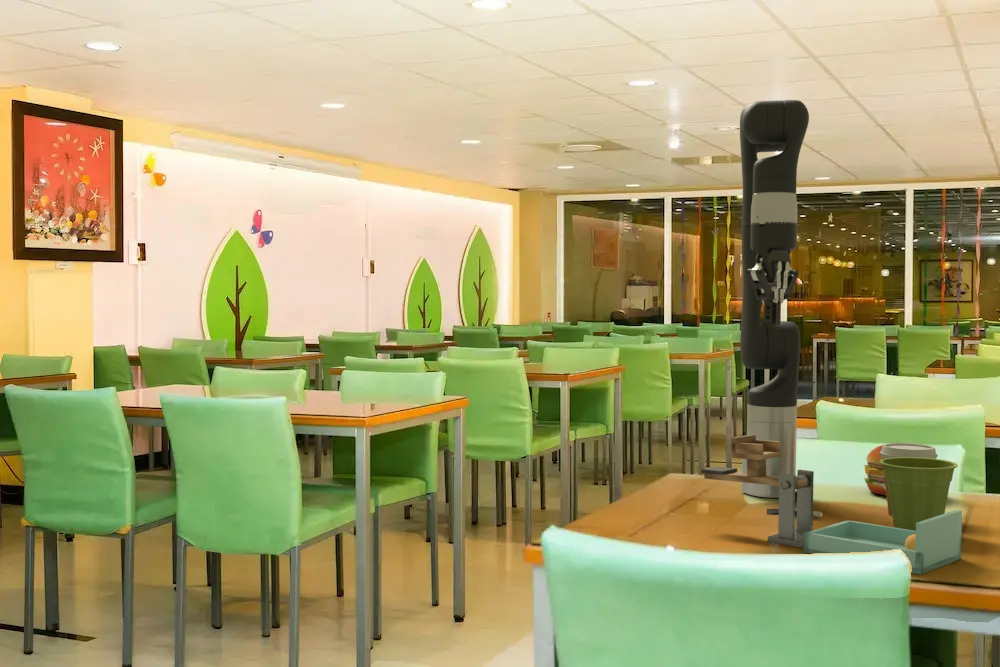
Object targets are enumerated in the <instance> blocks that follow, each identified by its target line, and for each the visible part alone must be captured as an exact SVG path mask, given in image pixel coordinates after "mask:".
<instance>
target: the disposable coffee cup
mask: <svg viewBox="0 0 1000 667" xmlns="http://www.w3.org/2000/svg"><path fill="white" fill-rule="evenodd" d="M889 443H890V442H889ZM889 443H884V444H882V445H883V446H882V450H881V451H880V454H881V457H882V459H885V458H894V457H920V458H932V459H937V458H938V457H939V454H937V451H936V447H935V446H933V445H928V444H921V443H920V444H919V443H906V442H905V443H904V442H891V443H890V444H889ZM884 478H885V474H884ZM885 487H886V495H887V496H886V495H885V496H886V501H887V502H886V504H887V513H889V515H890V514H892V511H891V504H890V498H889V492H888V485H887V479H886V478H885Z"/></svg>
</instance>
